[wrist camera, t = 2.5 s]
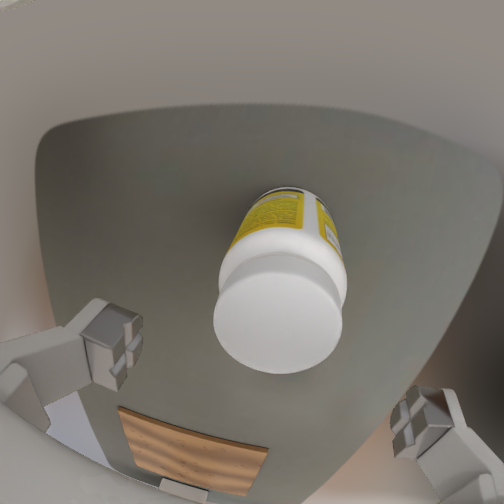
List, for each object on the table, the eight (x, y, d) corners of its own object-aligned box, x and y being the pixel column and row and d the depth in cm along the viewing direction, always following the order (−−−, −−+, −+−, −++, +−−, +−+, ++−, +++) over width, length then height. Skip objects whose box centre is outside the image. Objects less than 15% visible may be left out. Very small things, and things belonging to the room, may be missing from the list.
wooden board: (119, 406, 28) (117, 410, 27) (268, 448, 27) (267, 453, 26) (137, 462, 35) (136, 465, 35) (245, 493, 34) (245, 496, 33)
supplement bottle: (232, 244, 18) (180, 345, 10) (269, 169, 16) (233, 229, 8) (307, 281, 18) (303, 397, 10) (350, 212, 16) (386, 306, 8)
